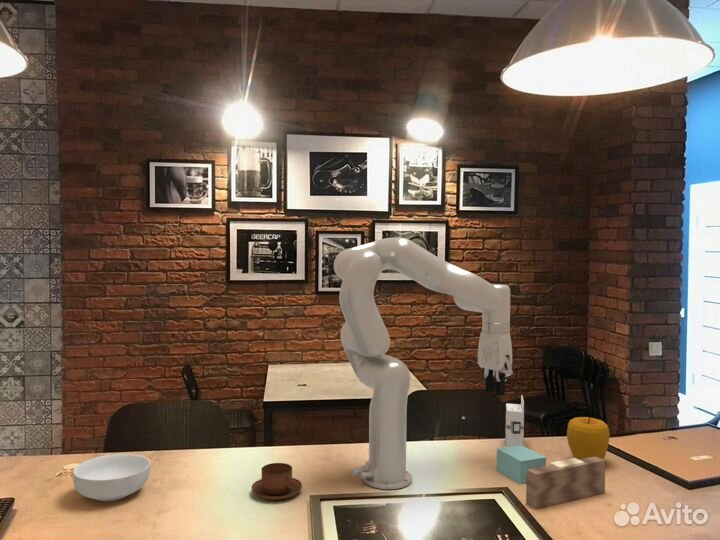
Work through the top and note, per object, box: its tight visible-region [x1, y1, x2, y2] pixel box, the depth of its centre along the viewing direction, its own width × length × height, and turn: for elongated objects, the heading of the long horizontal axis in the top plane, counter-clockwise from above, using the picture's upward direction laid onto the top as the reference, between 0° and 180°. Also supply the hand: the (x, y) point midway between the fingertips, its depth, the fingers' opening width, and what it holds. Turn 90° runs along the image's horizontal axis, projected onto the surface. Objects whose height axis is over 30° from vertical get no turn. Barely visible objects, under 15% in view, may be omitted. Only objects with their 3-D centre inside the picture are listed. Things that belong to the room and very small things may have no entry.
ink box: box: [505, 394, 525, 447], centre depth 172 cm, size 9×5×15 cm, turn 168°
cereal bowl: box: [72, 453, 152, 502], centre depth 134 cm, size 17×17×7 cm
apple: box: [566, 416, 611, 460], centre depth 158 cm, size 11×11×13 cm
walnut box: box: [525, 456, 606, 510], centre depth 134 cm, size 22×3×9 cm, turn 115°
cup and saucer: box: [251, 462, 303, 501], centre depth 136 cm, size 12×12×6 cm
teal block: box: [496, 445, 547, 485], centre depth 149 cm, size 8×10×6 cm
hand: (495, 392), depth 158 cm, fingers open, 3 cm apart
